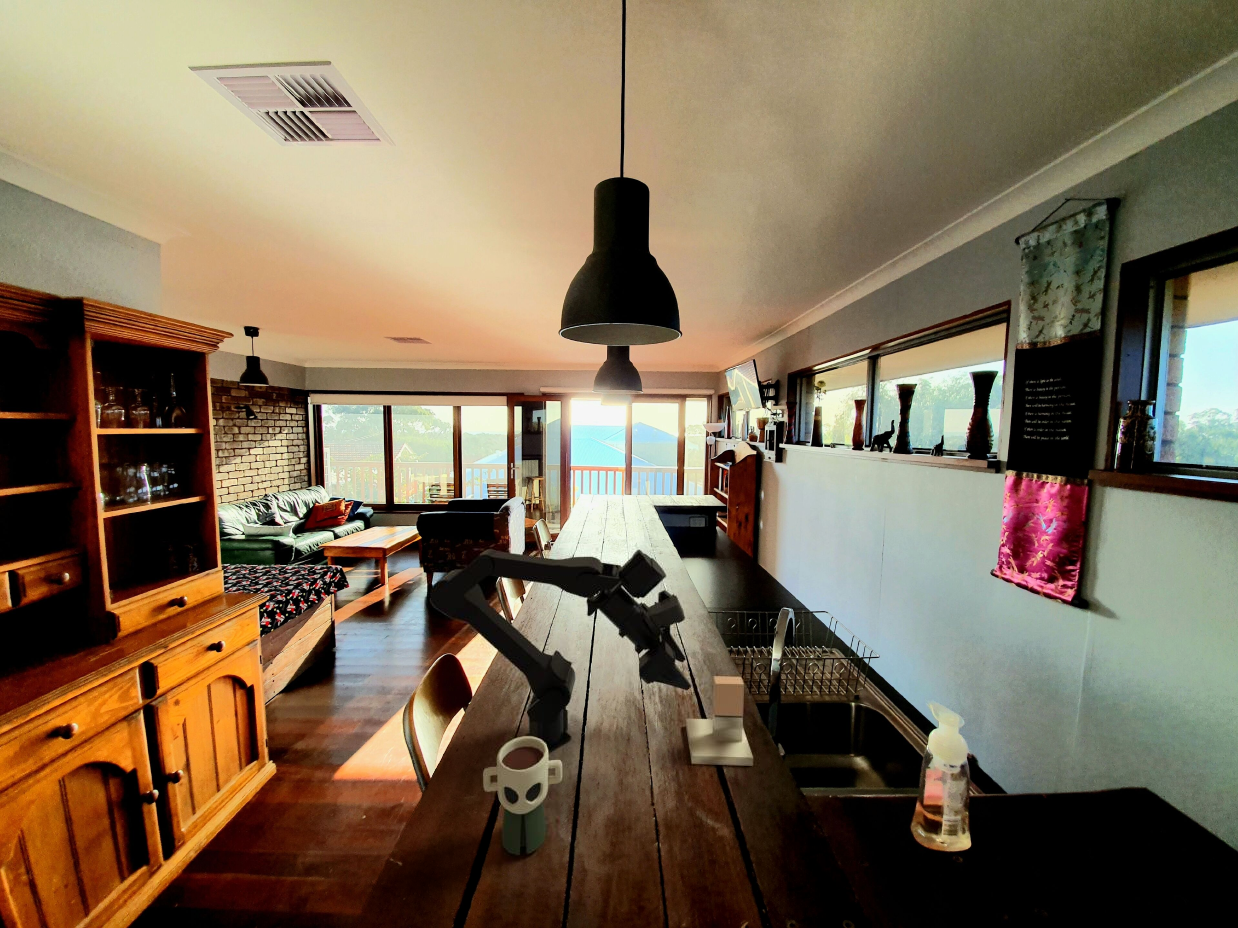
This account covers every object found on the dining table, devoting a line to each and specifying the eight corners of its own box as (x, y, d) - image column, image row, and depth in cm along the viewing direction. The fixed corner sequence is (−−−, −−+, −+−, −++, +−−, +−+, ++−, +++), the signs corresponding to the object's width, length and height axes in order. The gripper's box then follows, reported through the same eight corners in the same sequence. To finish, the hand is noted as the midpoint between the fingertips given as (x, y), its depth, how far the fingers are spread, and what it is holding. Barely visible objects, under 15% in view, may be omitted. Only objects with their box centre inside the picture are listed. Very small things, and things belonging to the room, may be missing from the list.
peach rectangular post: (715, 715, 83) (715, 683, 82) (712, 706, 85) (713, 676, 84) (743, 715, 82) (743, 684, 82) (740, 707, 85) (740, 676, 84)
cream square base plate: (691, 763, 80) (692, 729, 79) (686, 725, 90) (686, 695, 89) (752, 765, 79) (753, 731, 79) (740, 727, 89) (741, 697, 89)
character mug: (481, 867, 61) (478, 776, 60) (488, 821, 68) (486, 739, 67) (563, 855, 63) (562, 766, 62) (562, 812, 70) (561, 731, 69)
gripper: (660, 604, 73) (728, 672, 73) (656, 567, 91) (710, 621, 92) (611, 650, 74) (678, 717, 74) (616, 604, 93) (670, 658, 93)
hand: (686, 673), depth 83 cm, fingers open, 9 cm apart
